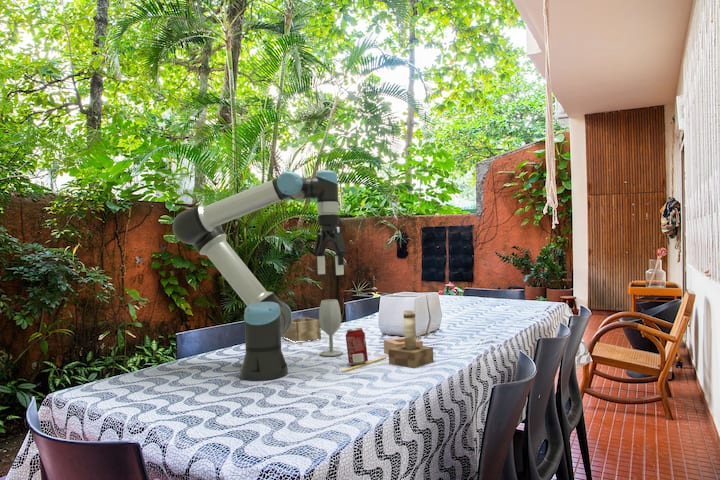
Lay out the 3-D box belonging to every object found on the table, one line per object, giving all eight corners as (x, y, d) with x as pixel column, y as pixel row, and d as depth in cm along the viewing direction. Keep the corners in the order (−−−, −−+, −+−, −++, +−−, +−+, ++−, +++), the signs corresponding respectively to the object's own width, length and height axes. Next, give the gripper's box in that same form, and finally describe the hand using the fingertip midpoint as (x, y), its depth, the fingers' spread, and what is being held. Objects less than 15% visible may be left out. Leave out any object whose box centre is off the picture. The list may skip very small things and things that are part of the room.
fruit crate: (295, 343, 221) (294, 323, 221) (283, 339, 233) (282, 320, 233) (321, 339, 228) (320, 320, 228) (307, 336, 239) (307, 317, 239)
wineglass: (332, 357, 188) (330, 301, 189) (315, 355, 194) (313, 301, 194) (347, 353, 195) (345, 299, 196) (330, 351, 201) (328, 298, 201)
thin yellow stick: (344, 372, 165) (344, 371, 165) (341, 372, 166) (341, 370, 166) (386, 358, 184) (386, 357, 184) (383, 358, 185) (383, 356, 185)
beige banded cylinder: (410, 364, 173) (408, 312, 173) (403, 362, 176) (401, 311, 176) (419, 362, 175) (417, 311, 175) (412, 360, 178) (410, 310, 179)
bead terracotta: (396, 358, 184) (396, 344, 184) (384, 352, 194) (383, 339, 194) (423, 354, 188) (422, 341, 188) (409, 349, 198) (409, 336, 198)
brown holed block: (414, 367, 168) (413, 352, 168) (389, 363, 175) (388, 349, 175) (433, 361, 176) (432, 347, 176) (408, 358, 183) (407, 344, 183)
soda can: (366, 364, 172) (362, 329, 173) (346, 366, 173) (343, 331, 174) (369, 361, 178) (365, 327, 179) (351, 362, 180) (347, 328, 181)
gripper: (355, 211, 170) (357, 274, 169) (321, 217, 191) (323, 273, 191) (336, 211, 166) (338, 275, 165) (303, 217, 187) (305, 274, 187)
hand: (330, 274), depth 178 cm, fingers open, 13 cm apart
